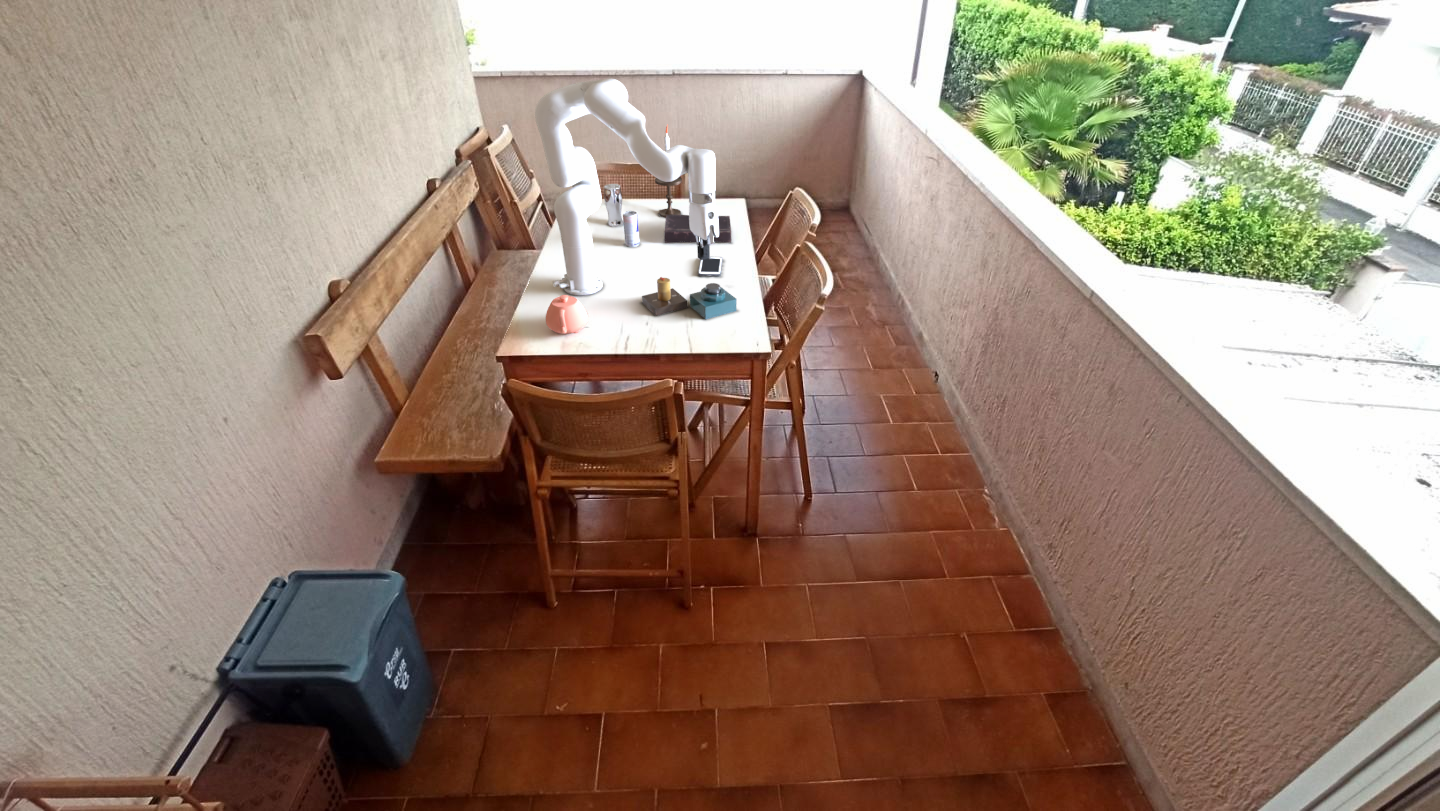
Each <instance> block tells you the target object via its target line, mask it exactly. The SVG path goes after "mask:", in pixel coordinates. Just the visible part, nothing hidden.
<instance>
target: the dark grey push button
mask: <svg viewBox="0 0 1440 811" xmlns="http://www.w3.org/2000/svg"><path fill="white" fill-rule="evenodd" d="M705 287H706V294H709V295H717V294H719V293H720V287H721V285H720V284H719V283H715V282H711V283H707V284H706V285H705Z"/></svg>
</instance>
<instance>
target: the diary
mask: <svg viewBox="0 0 1440 811" xmlns="http://www.w3.org/2000/svg"><path fill="white" fill-rule="evenodd" d="M718 223H719V237H717V238H716V237H714V236H713V238H714V243H725V244H727V243H732V228H731V227H732V226H731V216H730V215H718ZM663 234H664V243H665V244H675V243H691V244H693V243H694V244H695V243H696V237H695V235H694V234H693V232H692V231H691V230H690V226H689V214H681V215H666V218H665V223H664V231H663ZM696 244H697V243H696Z"/></svg>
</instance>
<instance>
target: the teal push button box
mask: <svg viewBox="0 0 1440 811" xmlns="http://www.w3.org/2000/svg"><path fill="white" fill-rule="evenodd" d="M689 307H690V308H691V309H693V311H695V312H696V313H697V314H698V315H700V316H701V317H702V318H703V319H705V320H709V319H713V318H715V317H720V316H723V315H727V314H730V313H734V312H737V298H736V297H735V296H734V295H732V294H731V293H729V292H728V291H727V290H726V289H724V288H723V287H722V286H720V293H719V294H717V295H709V294H706V286H704V287H703V288H701V290H700V291H697V292H693V293H690V294H689Z"/></svg>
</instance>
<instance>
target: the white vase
mask: <svg viewBox="0 0 1440 811" xmlns="http://www.w3.org/2000/svg"><path fill="white" fill-rule="evenodd" d="M603 198H604V199H603V200H604V204H605V208H606V212H607V225H608V226H610V227H615V228H616V227H620V226H624V224H623V214H622V209H623V193H622V187H621V184H618V183H608V184H605V185H603Z"/></svg>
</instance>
